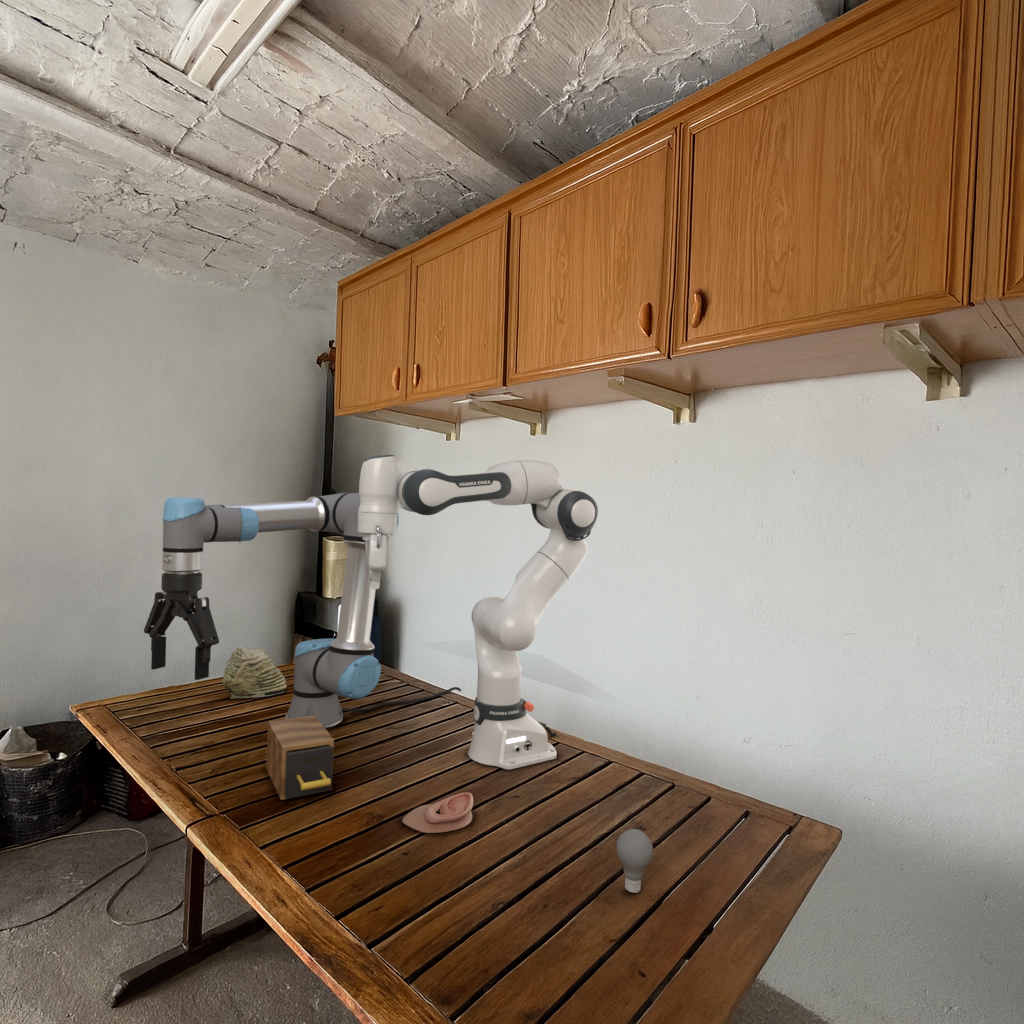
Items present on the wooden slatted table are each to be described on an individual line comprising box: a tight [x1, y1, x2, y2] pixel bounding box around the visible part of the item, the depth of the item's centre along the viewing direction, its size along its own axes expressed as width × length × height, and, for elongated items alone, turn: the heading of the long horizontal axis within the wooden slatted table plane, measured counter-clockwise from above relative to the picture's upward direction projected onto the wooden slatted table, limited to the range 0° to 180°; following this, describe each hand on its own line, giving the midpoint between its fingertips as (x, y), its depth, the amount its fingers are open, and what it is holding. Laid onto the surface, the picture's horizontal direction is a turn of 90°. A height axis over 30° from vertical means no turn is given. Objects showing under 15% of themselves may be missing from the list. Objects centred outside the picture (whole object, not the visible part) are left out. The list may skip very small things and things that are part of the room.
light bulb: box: [615, 828, 654, 894], centre depth 106 cm, size 6×6×10 cm
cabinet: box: [265, 715, 335, 801], centre depth 141 cm, size 17×11×11 cm, turn 31°
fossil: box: [222, 646, 288, 699], centre depth 198 cm, size 9×18×15 cm, turn 132°
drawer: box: [284, 745, 334, 800], centre depth 137 cm, size 21×9×9 cm, turn 31°
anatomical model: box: [401, 791, 474, 834], centre depth 126 cm, size 13×4×12 cm
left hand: (179, 673), depth 132 cm, fingers open, 13 cm apart
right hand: (374, 585), depth 145 cm, fingers open, 8 cm apart
